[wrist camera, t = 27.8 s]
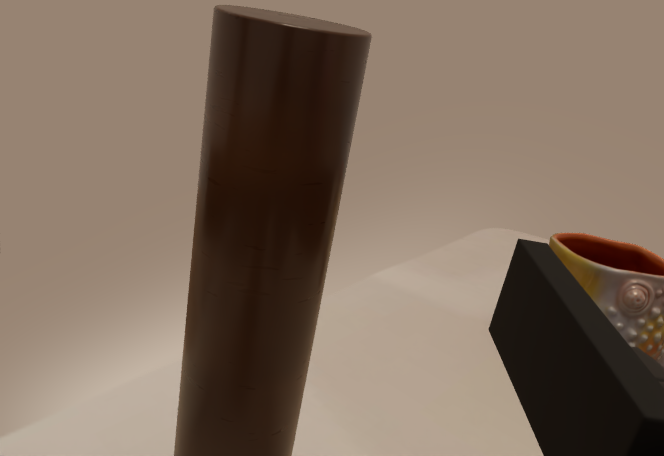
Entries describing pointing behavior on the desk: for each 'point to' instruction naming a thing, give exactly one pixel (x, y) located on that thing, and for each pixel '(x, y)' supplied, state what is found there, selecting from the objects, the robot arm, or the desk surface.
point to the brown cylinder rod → (264, 224)
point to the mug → (619, 285)
